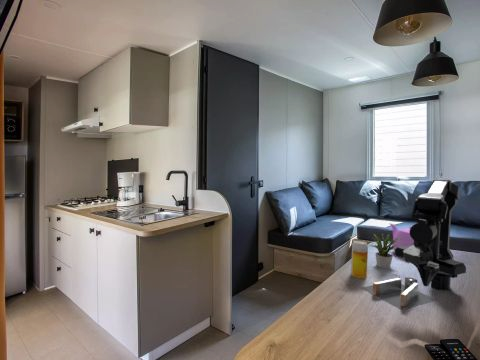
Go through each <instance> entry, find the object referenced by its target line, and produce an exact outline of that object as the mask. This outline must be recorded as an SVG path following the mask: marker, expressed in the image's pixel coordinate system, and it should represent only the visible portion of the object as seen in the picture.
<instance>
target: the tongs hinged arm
mask: <svg viewBox="0 0 480 360" xmlns="http://www.w3.org/2000/svg"><path fill="white" fill-rule="evenodd" d="M418 282H419V281H418V279H416V278H415V277H410V276H408V277H407V276H406V277H404V285H405V288H404V289H405V291H404V292H403V293H402V294H401V302H400V306H401V307H404V308H405V307H406V306H407V305H408V304H409V303H410V302H411V301H412V300H413V299H414V298H415V297H416V295H417V294H418V291H419V283H418Z"/></svg>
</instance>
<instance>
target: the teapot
mask: <svg viewBox="0 0 480 360" xmlns="http://www.w3.org/2000/svg"><path fill="white" fill-rule="evenodd" d="M389 225H390V226H391V228H392V241H393V240H395V239H397V238H400V239H397V241H396V242H394V244H392V245H391V246H394V245H397V246H394V248H393V249H396V248H397V247H402V246H408V247H410V246H412V245H413V244H414V240H413V239H412V238H411V236H410V229H411V227H412V226H413V225H410V226H408V227H409V228H407V227H405V228H399V229H398V228H397V226H396V225H395V224H394V223H389ZM401 240H402V241H401ZM396 243H397V244H396ZM393 252H395V250H393Z"/></svg>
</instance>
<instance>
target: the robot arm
mask: <svg viewBox="0 0 480 360" xmlns="http://www.w3.org/2000/svg"><path fill="white" fill-rule="evenodd" d="M460 194H461V191H460V187H459V186H458V185H457V184H455V183H453V182H452V180H451V179H448V178H447V179H446V178H435V179H433V180H432V184H430V188H429V189H428V191H427V193H422V194H420V195H419V196H418V197H417V198H416V199H415V200H414V204H413V209H412V212H411V213H412V214H411V219H415V220H416V223H414V224H413V225H411V226H412V227H411V229H410V236H411V238H412V239H413V240H414V244H413V245H412V246H410V247H408V246H402V247H397V248H396V249H395V251H394V256H395V257H399V258H401V259H403V258H404V261H405V262H406V263H410V264H411V265H413V266H414V267H416V269H417V272H418V273H419V276H420V279H421V282H422V285H423V286H424V287H429V286H430V288H432V289H435V290H437V291H449V290H450V289H451V279H455V278H458V275H462V274H466V273H467V267H466V265H465V263H464V262H462V261H459V260H455V258H454V257H455V256H454V254H453V252H452V251H451V249H450V240H451V239H450V238H451V237H450V235H451V222H452V221H451V220H452V210H453V209H454V207H456V205H458V201H459V200H460V196H461V195H460Z"/></svg>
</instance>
